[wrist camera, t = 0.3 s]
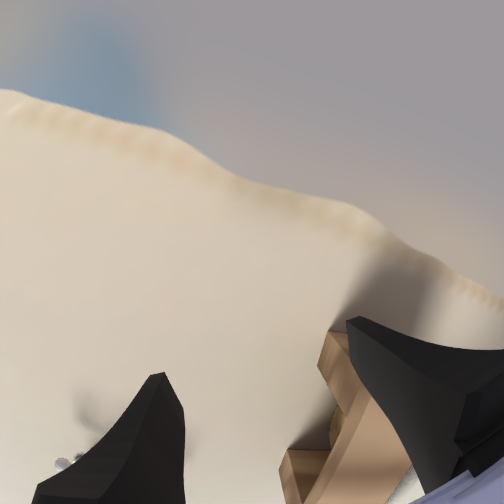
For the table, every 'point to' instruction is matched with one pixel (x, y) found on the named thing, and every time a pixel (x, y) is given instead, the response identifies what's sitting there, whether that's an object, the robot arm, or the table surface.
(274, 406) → the table surface
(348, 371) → the wooden bridge block
